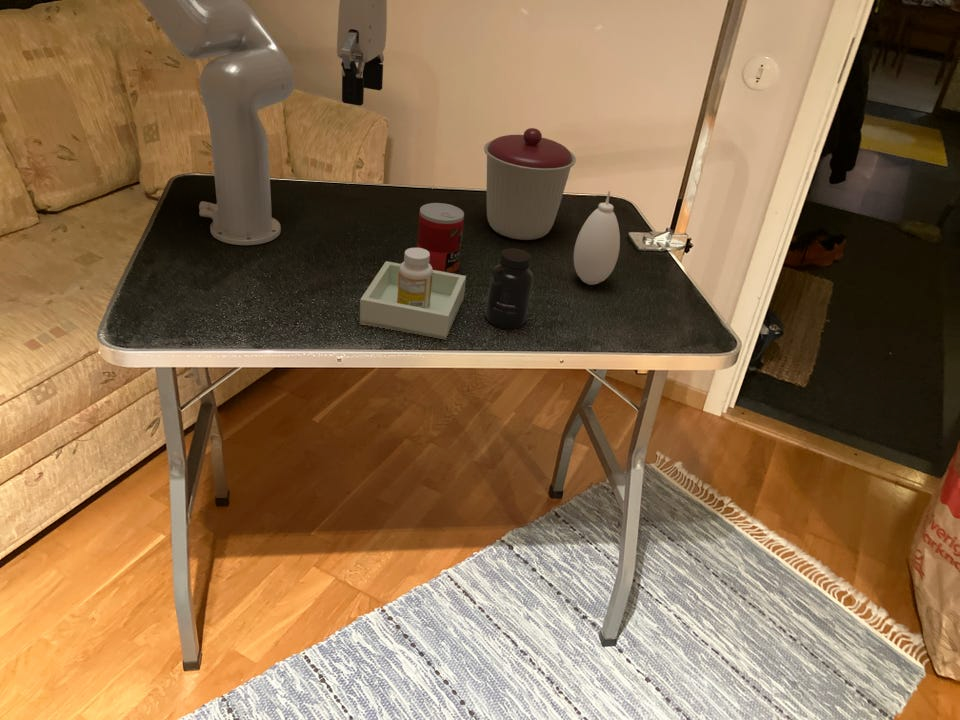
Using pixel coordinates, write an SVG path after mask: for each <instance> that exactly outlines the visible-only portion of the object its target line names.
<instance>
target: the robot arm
mask: <svg viewBox="0 0 960 720" xmlns="http://www.w3.org/2000/svg"><path fill="white" fill-rule="evenodd" d="M139 1H140V2H141V3H142V5H143V6H144V8H145V9H146V11H147V12H148V13H149V15H150V16H151V17H152V18H153V20H154V21H155V22H156V24H157V25H158V26H159V27H160V29H161V30H162V32H163V33H164V34H165V36H166V37H167V38H168V39H169V41H170V42H171V44H172V45H173V46H174V47H175V48H176V50H178V52H179V53H180V54H182V55H183V56H184V57H186V58H189V59H191V60H192V59H193V60H202V59H209V58H213V57H215V58H213V59H212V60H210V61H209V62H207V63H206V64H205V65H204V66H203V68H202V70H201V73H200V75H199V89H200V95H201V98H202V102H203V105H204V108H205V112H206V116H207V121H208V126H209V127H208V128H209V133H210V143H211V153H212V162H213V165H212V166H213V173H214V174H213V175H214V184H215V186H214V187H215V195H216V196H215V197H216V203H212V202H207V201H203V200H202V201H200V202H199V205H198V209H199V213H198V214H199V216H200V217H204V218H211V220H212V222H211V223H210V228H209V229H210V233H211V235H212V236H213V238H215V239H216V240H218V241H220V242H222V243H225V244H228V245H229V244H230V245H237V246H255V245H261V244H266V243H270V242H271V241H273V240H275V239H276V238H278V237H279V236H280V234H281V231H282V229H281V224H280V222H279V221H278V220H277V219H276V218H274V217H272V199H271V197H272V195H271V193H272V192H271V180H270V179H271V177H270V155H269V154H270V153H269V142H268V136H267V135H268V134H267V131H266V129H265V127H264V125H263V122H262V121H261V119H260V117H259V114H258V112H259V110H262V109H264V108H267V107H270V106H274V105H278V104H280V103H281V102H285V100H287V99H288V98H289V97H290V96H291V95H292V93H293V91H294V89H295V83H296V82H295V81H296V77H295V73H294V69H293V66H292V65H291V63H290V60H289V58H288V57H287V55H286V54H285V52H284V51H283V50H282V48H281V47H280V45H279V44H278V43H277V41H276V40H275V39H274V37H273V36H272V34H271V33H270V31H269V30H268V29H267V27H266V26H265V25H264V24H263V22H262V21H261V20H260V18H259V16H258V15H257V14H256V13H255V12H254V10H253V9H252V7H250V6H249V4H248V3H246V2H245V1H244V0H139ZM387 6H388V0H339V6H338V17H337V19H338V20H337V35H336V37H337V38H336V54H337V57H338V58H339V59H341V60H342V61H341V63H340V66H341V68H342V69H341V102H342V103H343V104H348V105H353V106H358V107H359V106H363V105H364V101H365V100H364V94H365V93H364V92H365V89H367V90H375V91H382V90H383V81H384V80H383V79H384V78H383V76H384V64H383V63H384V61H385V59H384V58H385V57H384V51H385V48H386V43H387V42H386V41H387V26H388V25H387V22H388V19H387V18H388V17H387V16H388V10H387V9H388V8H387ZM357 63H358V65H357Z"/></svg>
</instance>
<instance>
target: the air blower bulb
mask: <svg viewBox="0 0 960 720" xmlns="http://www.w3.org/2000/svg"><path fill="white" fill-rule="evenodd" d="M610 195H611V191H610V190H608V192H607V195H606V199H605V202H600V203H598V207H597V208H596V209H595V210H593V212H592V213H591V214H589V216H588V218H587V219H586V220H585V222H584V223H583V225H582V226H581V229H580V230H579V232H578V235H577V237H576V240H575V245H574V249H573V265H574V270H575V272H576V274H577V276H578V277H579V278H580V280H581V281H582V282H583V283H585V284H586V285H590V286H591V285H592V286H593V285H597V284H600V283H602V282H604V281H606V279H608V278H609V276H611V274H612V273H613V271H614V269H615V267H616V264H617V262H618V258H619V255H620V250H621V249H620V246H621V236H620V234H621V233H620V228H619V227H620V226H619V222H618V219H617V216H616V214H615V212H614V208H615V207H614V205H613V204H611V203H609V201H610V197H611V196H610Z"/></svg>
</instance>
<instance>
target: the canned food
mask: <svg viewBox="0 0 960 720" xmlns="http://www.w3.org/2000/svg"><path fill="white" fill-rule="evenodd" d="M464 220H465V212H464V210H462V209H461V208H460V207H457V206H455V205H453V204H448V203H441V202H431V203H426V204H423V205H421V206H420V208H419V214H418V229H417V241H416V248H422V249H425V250H427V251H428V252H429V253H430V261H429V264H430V265H431V266H432V269H433V270H436V271H442V272H447V273H453V274H456V272H457V271H458V269H459V268H460V267H459V266H460V261H461V260H460V259H461V249H462V240H463V232H464V224H465V223H464Z"/></svg>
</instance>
